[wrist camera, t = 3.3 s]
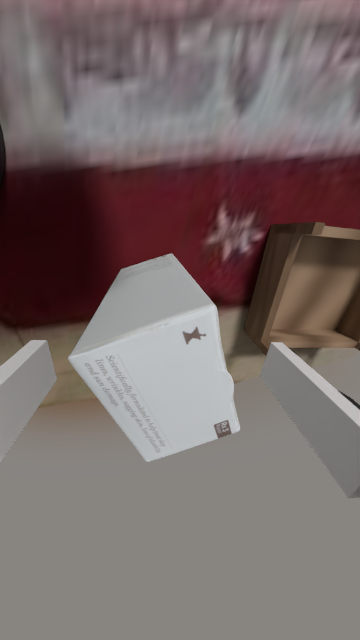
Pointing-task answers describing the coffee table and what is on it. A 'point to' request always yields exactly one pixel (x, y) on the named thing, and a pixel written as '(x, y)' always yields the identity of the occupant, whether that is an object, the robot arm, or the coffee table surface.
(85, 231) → the coffee table surface
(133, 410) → the skincare box
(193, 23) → the coffee table surface
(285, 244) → the box
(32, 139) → the coffee table surface
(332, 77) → the coffee table surface
